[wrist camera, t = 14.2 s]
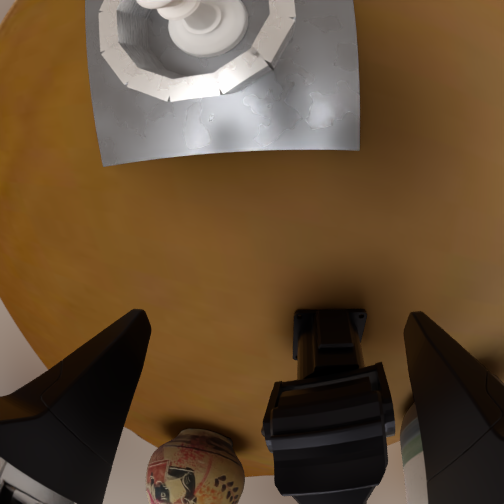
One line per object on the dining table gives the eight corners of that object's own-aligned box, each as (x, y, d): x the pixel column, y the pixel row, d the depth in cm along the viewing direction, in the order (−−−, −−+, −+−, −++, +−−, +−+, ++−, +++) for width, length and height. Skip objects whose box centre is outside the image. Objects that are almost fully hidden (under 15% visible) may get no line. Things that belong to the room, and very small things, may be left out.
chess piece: (171, -5, 13) (81, -54, 5) (249, -13, 13) (210, -92, 4) (170, 61, 16) (71, 51, 7) (248, 56, 15) (205, 22, 7)
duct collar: (356, 147, 18) (376, 166, 14) (109, 163, 21) (72, 185, 16) (335, -80, 9) (345, -113, 5) (93, -38, 12) (56, -52, 7)
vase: (496, 338, 26) (555, 507, 5) (497, 390, 32) (530, 512, 11) (379, 397, 32) (393, 573, 12) (409, 433, 38) (421, 557, 18)
